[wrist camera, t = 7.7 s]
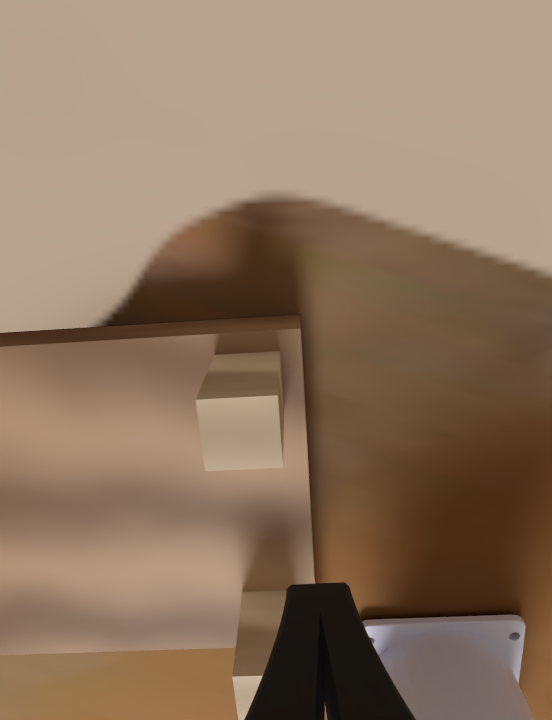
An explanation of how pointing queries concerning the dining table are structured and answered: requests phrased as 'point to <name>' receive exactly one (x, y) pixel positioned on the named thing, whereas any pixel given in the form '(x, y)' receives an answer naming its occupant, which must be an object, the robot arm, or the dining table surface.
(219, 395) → the stool seat
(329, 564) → the dining table surface
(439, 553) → the dining table surface
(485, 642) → the robot arm
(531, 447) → the dining table surface
